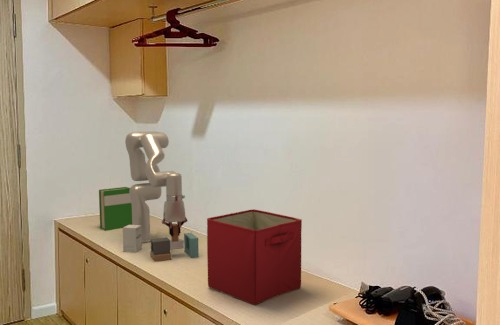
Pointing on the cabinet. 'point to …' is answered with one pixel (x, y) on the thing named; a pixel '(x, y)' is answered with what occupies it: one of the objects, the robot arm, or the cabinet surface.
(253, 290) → the storage cube
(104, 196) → the hardback book
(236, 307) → the cabinet surface
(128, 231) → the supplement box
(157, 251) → the grey block with backplate
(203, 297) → the cabinet surface
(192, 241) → the socket
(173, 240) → the multicoloured piece
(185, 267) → the cabinet surface
